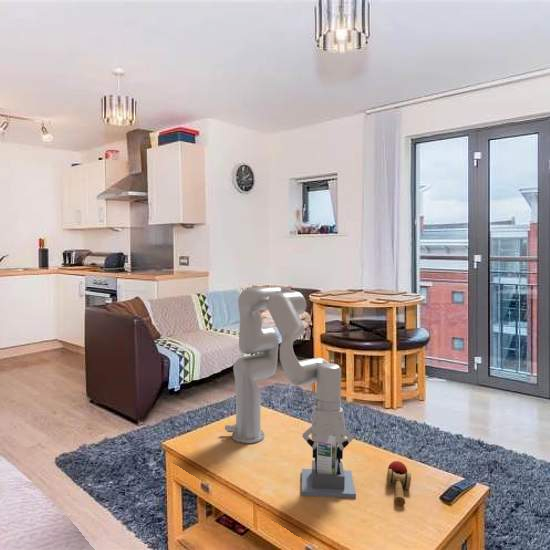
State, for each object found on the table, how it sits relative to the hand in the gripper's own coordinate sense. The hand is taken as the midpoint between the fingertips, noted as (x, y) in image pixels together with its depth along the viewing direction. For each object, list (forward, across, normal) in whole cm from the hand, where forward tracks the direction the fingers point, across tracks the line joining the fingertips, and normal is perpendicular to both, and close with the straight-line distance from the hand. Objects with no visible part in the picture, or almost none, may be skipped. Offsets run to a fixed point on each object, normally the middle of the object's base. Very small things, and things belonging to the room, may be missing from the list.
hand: (327, 459), depth 140 cm
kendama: (+8, +22, -2) cm, 23 cm away
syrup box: (+5, 0, 0) cm, 5 cm away
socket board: (+8, 0, 0) cm, 8 cm away
